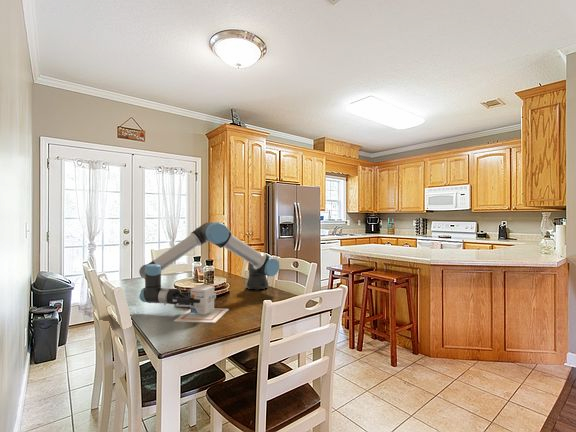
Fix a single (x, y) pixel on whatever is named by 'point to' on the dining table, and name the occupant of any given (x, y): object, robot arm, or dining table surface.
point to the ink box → (203, 293)
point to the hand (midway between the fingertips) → (211, 298)
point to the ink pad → (182, 305)
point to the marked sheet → (202, 316)
